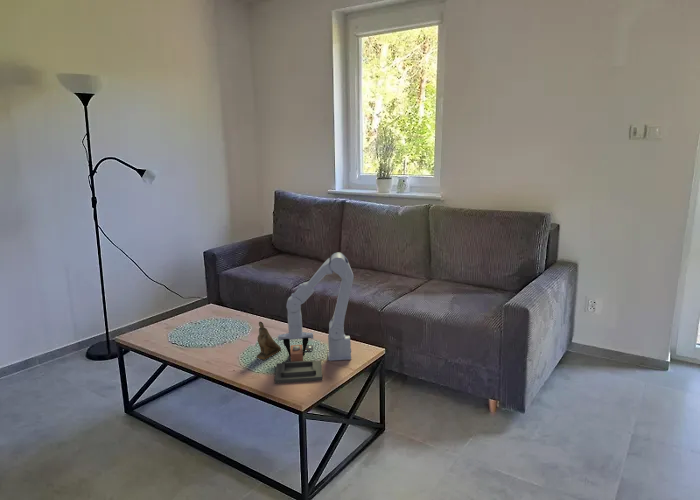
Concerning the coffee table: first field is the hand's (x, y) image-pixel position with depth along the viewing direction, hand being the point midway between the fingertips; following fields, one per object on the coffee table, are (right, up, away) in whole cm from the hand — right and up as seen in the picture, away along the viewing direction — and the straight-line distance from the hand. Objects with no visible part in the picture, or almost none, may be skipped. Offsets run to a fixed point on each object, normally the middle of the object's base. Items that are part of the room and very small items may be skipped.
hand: (296, 355), depth 209 cm
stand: (+2, -4, -13) cm, 14 cm away
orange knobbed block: (0, -1, 0) cm, 1 cm away
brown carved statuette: (-12, -1, +5) cm, 14 cm away
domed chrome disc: (+4, 0, +9) cm, 10 cm away
